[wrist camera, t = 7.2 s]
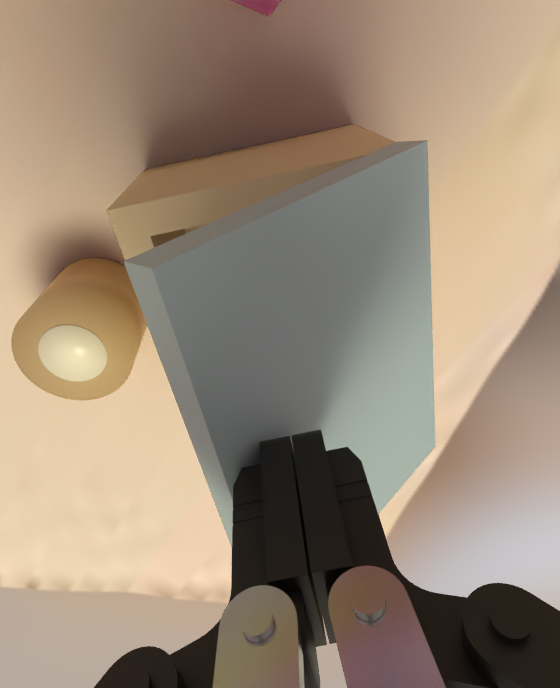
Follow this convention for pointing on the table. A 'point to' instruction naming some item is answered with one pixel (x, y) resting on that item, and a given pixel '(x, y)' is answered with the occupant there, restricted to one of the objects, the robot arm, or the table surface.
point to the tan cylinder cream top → (81, 331)
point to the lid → (304, 322)
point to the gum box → (260, 5)
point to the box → (227, 184)
